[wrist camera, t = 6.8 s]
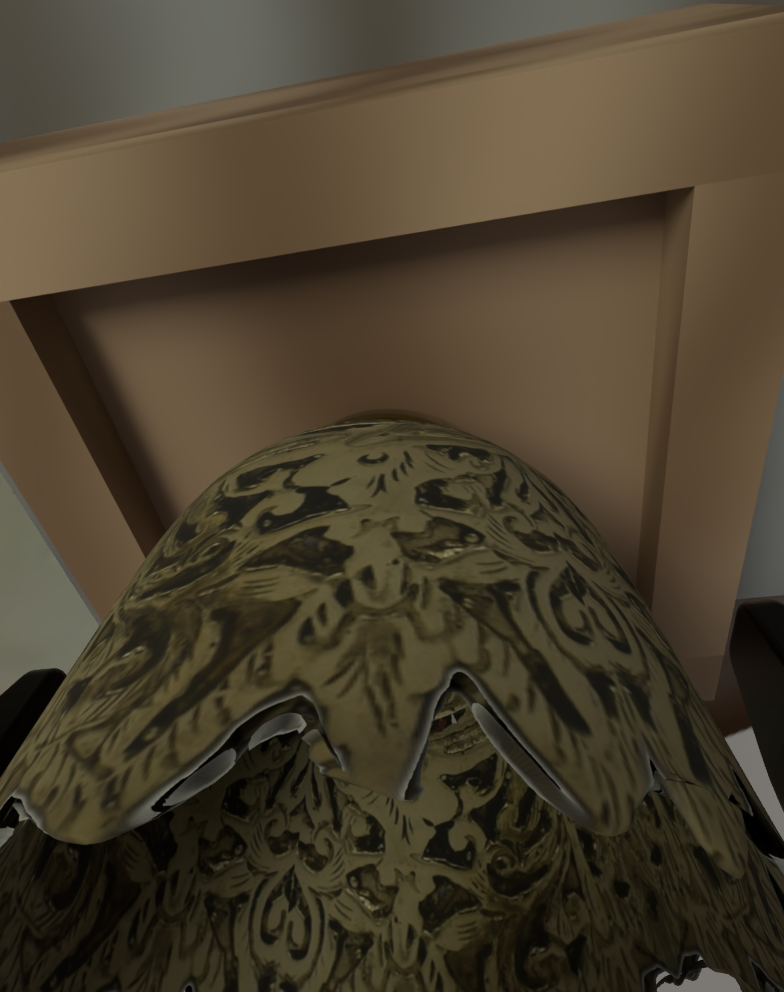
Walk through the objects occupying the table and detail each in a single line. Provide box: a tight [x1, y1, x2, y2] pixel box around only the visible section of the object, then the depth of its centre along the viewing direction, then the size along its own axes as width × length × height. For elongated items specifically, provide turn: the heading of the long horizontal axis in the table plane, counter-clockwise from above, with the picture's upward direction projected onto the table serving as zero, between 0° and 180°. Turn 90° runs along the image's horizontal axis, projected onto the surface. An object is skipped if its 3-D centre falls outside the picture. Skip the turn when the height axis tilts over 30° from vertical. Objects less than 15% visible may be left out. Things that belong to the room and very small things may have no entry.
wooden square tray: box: [0, 0, 784, 701], centre depth 14 cm, size 20×16×6 cm
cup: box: [0, 409, 784, 992], centre depth 9 cm, size 8×7×8 cm
